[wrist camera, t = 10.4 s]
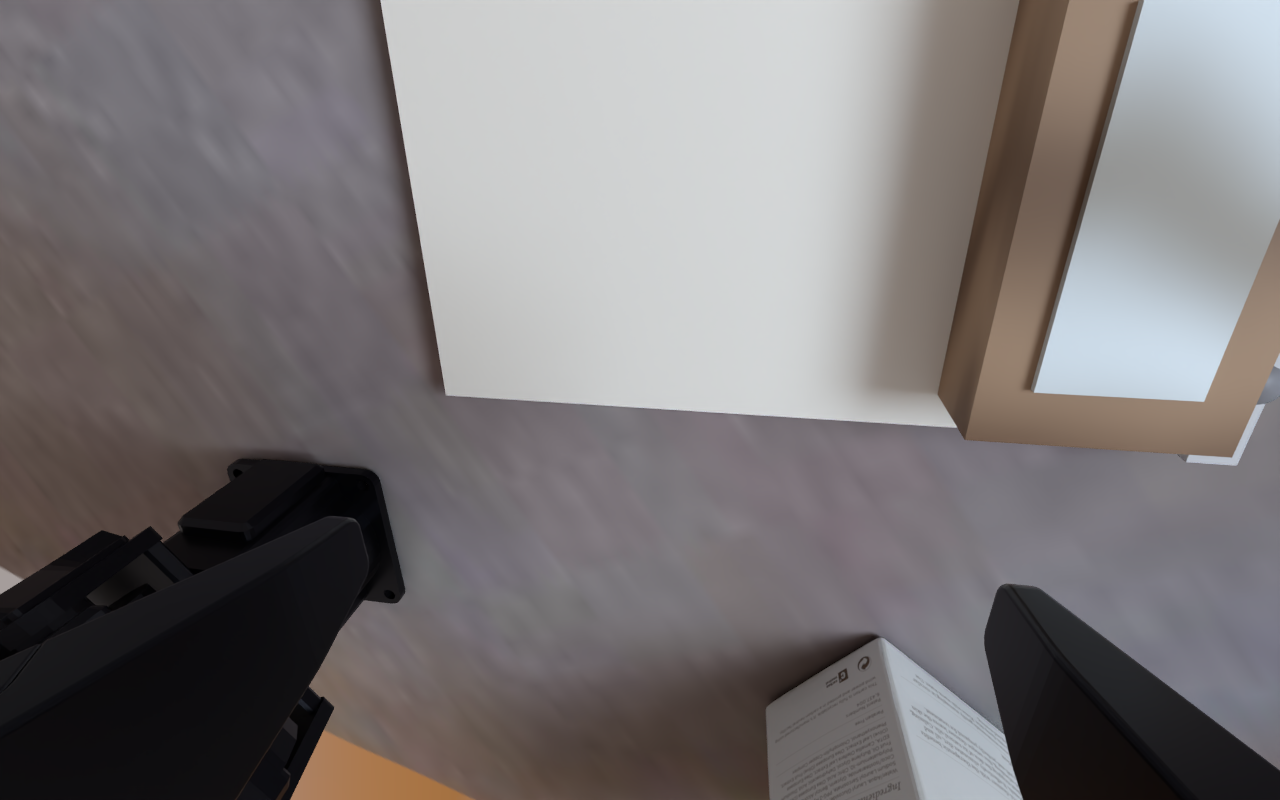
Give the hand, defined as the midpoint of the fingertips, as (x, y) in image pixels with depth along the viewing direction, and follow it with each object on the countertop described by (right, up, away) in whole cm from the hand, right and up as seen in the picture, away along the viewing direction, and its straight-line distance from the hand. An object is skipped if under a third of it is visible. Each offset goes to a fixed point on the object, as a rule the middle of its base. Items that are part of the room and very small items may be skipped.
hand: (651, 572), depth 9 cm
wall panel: (+5, +8, +9) cm, 13 cm away
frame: (+12, +7, +7) cm, 15 cm away
